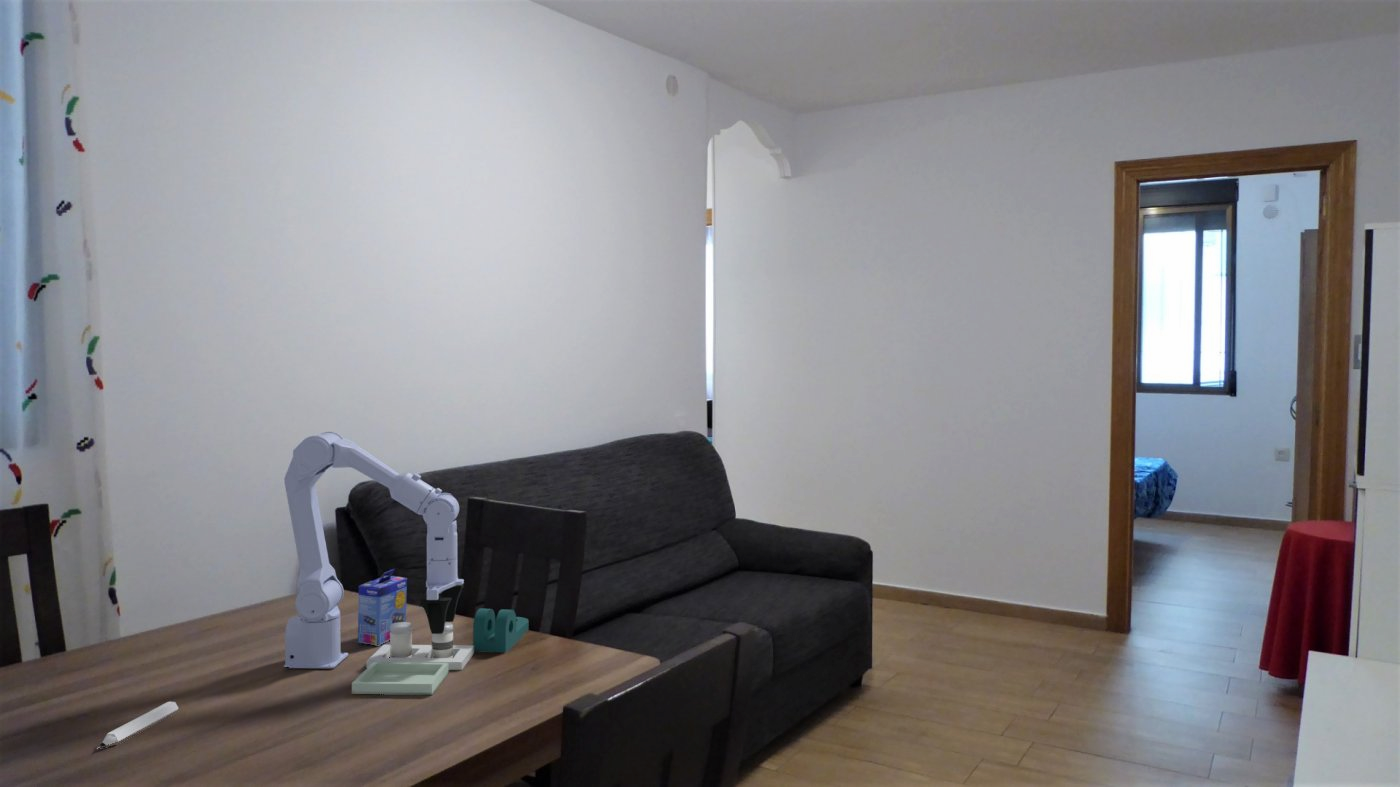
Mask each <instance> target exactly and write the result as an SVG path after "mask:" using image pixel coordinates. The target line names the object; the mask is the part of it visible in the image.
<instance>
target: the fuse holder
mask: <svg viewBox="0 0 1400 787" xmlns="http://www.w3.org/2000/svg"><path fill="white" fill-rule="evenodd" d="M474 653H475V652H474V645H473V644H471V645H469V644H468V645H467V644H466V645H465V644H464V645H463V644H462V645H461V644H453V658H432V644H412V657H411V658H389V657H390V644H382V645H381V646H380V648H378V649H377V650H376V651H375V652H374V653H373V654H372V655H371V656H370V657H369V658H368V659H367V660H366V661H365V663H366V664H365V665H366V666H365V667H366V668H368V667H369V666H370V665H371V664H372V663H373V662H397V663H448V671H463V669H464V668H465V666H466V665H467V664H468V662H469V661H470V660H471V658H472V656H473V655H474ZM366 668H365V669H366Z"/></svg>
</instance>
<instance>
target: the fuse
mask: <svg viewBox="0 0 1400 787" xmlns="http://www.w3.org/2000/svg"><path fill="white" fill-rule="evenodd" d="M412 626H413V624H412V623H411V622H407V621H406V622H398V623H394V624H391V625H390V641H389V642H390V643H389V645H390V658H411V657H412V645H413V638H412V637H413V634H412V633H413V632H412V631H413V627H412Z"/></svg>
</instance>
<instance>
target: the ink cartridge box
mask: <svg viewBox="0 0 1400 787" xmlns="http://www.w3.org/2000/svg"><path fill="white" fill-rule="evenodd" d="M394 572H395V568H393V569H390V570H388V571H386V572H383V573H382V575H381V576H380V577H378V578H376V579H374V580H370V581H367V582H365V583H363V584H360V585H358V601H357V602H358V603H357V604H358V607H357V609H358V612H357V613H358V614H357V615H358V616H357V620H358V621H357V629H358V630H357V643H358V644H362V643H364V644H363V645H367V644H371V645H370V646H372V645H377V646H376V647H379V646H378V645H380V646H382V645H384V644H386V643H385V642H387V641H389V640H390V625H391V624H394V623H398V622H407V595H408V594H407V592H408V591H407V589H408V588H407V587H408V582H407V581H408V577H402V576H395V575H393V574H394ZM389 642H390V641H389ZM383 643H384V644H383ZM387 643H388V642H387ZM381 644H382V645H381Z"/></svg>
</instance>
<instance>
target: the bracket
mask: <svg viewBox="0 0 1400 787" xmlns="http://www.w3.org/2000/svg"><path fill="white" fill-rule="evenodd" d="M529 623H530V622H529V618H526V617H523V616H522V617H521V616H517V614H516V612H515V610H514V609H503V608H502V609H500V610H499V611H498V612H497V615H496V614H495V611H494V609H492V608H483V607H482V608H479V609H478V610H477V611H476V613H475V616H474V619H473V624H472V645H474V651H484V652H483V653H494V652H506V653H507V652H508V651H509V650H511V649H512V648H513V646H514V645H516V643H517V642H519V641H520V640H521V639H522V638H523V637H524V636H523V634H524V633H525V632H526V631H529V629H530V628H529ZM522 636H523V637H522ZM521 637H522V638H521ZM485 651H486V652H485Z"/></svg>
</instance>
